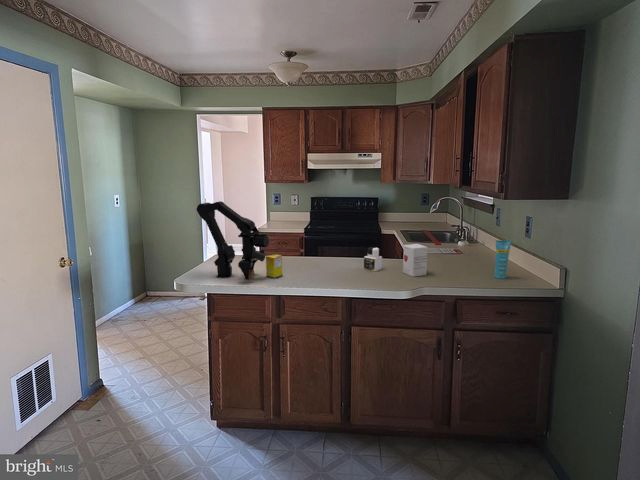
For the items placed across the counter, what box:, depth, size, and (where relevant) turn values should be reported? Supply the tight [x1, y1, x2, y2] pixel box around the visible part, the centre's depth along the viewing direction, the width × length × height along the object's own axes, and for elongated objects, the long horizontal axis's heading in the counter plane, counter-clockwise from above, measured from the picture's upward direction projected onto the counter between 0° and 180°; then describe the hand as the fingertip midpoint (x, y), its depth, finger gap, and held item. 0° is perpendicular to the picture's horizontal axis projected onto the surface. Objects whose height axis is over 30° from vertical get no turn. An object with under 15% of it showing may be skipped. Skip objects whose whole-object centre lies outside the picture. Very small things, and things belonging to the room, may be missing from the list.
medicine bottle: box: [363, 246, 383, 272], centre depth 222 cm, size 7×7×12 cm
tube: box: [494, 239, 512, 280], centre depth 205 cm, size 7×5×19 cm, turn 92°
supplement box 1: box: [265, 253, 283, 279], centre depth 209 cm, size 6×6×11 cm
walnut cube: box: [244, 270, 255, 281], centre depth 206 cm, size 4×4×4 cm
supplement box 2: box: [402, 243, 429, 278], centre depth 213 cm, size 9×9×15 cm
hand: (249, 276), depth 206 cm, fingers open, 9 cm apart
